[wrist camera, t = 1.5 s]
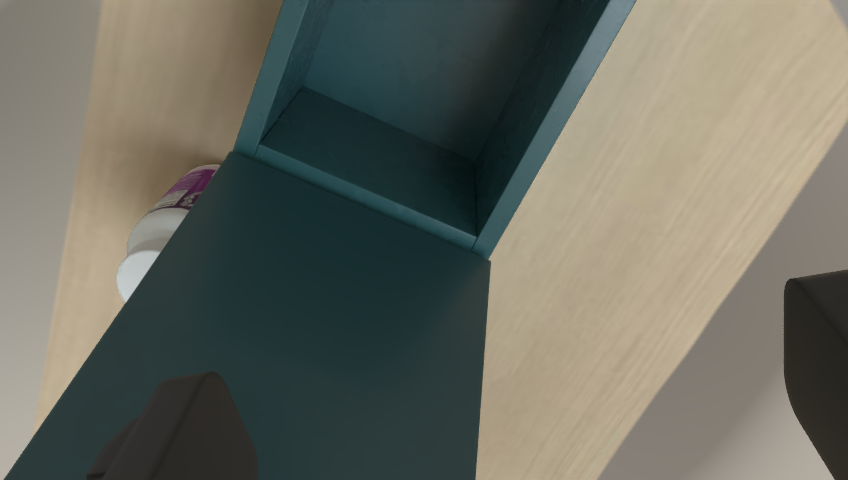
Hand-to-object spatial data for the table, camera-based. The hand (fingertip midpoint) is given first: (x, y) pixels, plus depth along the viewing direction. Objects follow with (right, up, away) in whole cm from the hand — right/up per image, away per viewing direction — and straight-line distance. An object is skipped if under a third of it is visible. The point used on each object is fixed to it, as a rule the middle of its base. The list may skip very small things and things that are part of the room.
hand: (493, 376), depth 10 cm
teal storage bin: (0, +14, +25) cm, 29 cm away
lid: (-4, -1, +13) cm, 14 cm away
